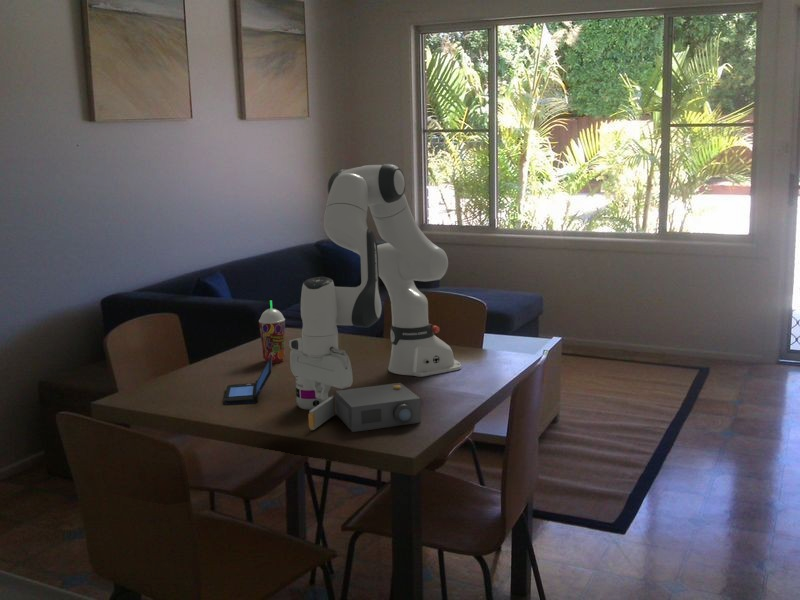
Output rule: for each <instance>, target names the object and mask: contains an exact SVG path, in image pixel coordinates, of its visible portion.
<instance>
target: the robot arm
mask: <svg viewBox="0 0 800 600" xmlns="http://www.w3.org/2000/svg"><path fill="white" fill-rule="evenodd" d="M405 191H406V179H405V175H404V173H403V170H401V169H400V168H399V167H398V166H397V165H396V164H392V163H383V164H368V165H362V166H357V167H351V168H348V169H340V170H338V171H335V172H334V173H332V174H331V175H330V178H329V179H328V181H327V193H328V196H327V200H326V204H325V208H324V209H325V210H324V216H323V229H324V230H323V231H324V232H325V234H326V235H327V237H328V238H329V239H330V240H331V241H332V242H333V243H334V244H336V245H337V246H339V247H341V248H344V249H346V250H349V251H352V252H353V253H355V254H357V255H359V258H360V278H361V281H360V282H361V283H360V285H357V286H352V287H351V286H336V285H335V283H334V280H333V279H332V278H330V277H326V276H316V277H311V278H308V279H306V280H305V281H304V282H302V286H301V291H300V292H301V295H300V316H301V317H300V319H301V320H302V328H301V336H300V337H297V338H294V339H290V340H289V341H288V342H289V343H288V345H289V346H288V347H289V348H290V349H291V350H290V353H289V362H290V363H289V365H290V366H289V367H290V371H291V373H292V376H298V377H302V378H305V379H308V380H312V386H313V388H314V390H315V397H316V398H317V399H321V400H327V399H328V398H329V392H330V390H331V388H332V387H334V388H337V389H340V390H344V389H346V388H347V389H348V388H350V387H351V386H352V385H353V381H354V380H353V379H354V377H353V370H352V365H351V364H352V363H351V359H350V356H349V355H348V354H347V352H346V350H344V349H341V348H340V349H339V332H338V331H339V330H338V327H337V326H354V327H358V328H359V327H360V328H365V329H366V328H367V329H368V328H370V327H372V326H374V324H375V323H377V322H378V321H379V320H380V318H381V315H382V301H381V293H380V292H381V291H380V279H381V281H382V282H383V284H384V287H385V288H386V290H387V293H388V295H389V299H390V309H391V325H390V342H391V352H390V359H389V364H388V368H387V370H388V372H389V373H392V374H396V375H403V376H415V377H428V376H433V375H438V374H443V373H448V372H453V371H458V370H459V371H460V370H461V369H462V364H461V362H460V361H459V360H456V359H455V358H454V352H453V350H452V348H451V346H450V345H449V344H447V343H446V342H445V341H444V340H442V339H440V338H439V337H437V336H436V335H435V334H439V332H440V331H441V330H440V327H439V326H437V325H433V324H432V323H429V301H428V298H427V297H426V295H425V294H424V293H423V292H421V291H420V290H419V289H418V287H417V286H416V284H415V281H416V282H417V281H418V282H432V281H439V280H441V279H442V278H444V276H445V275H446V273H447V271H448V267H449V259H448V255H447V253H446V252H445V250H444V249H443V248H441V247H439V246H438V245H436V244H435V243H433V242H432V241H431V240H430V239H429V238H428V237H427V236H426V235H425V233H423V231H422V229H421V228H420V227H419V226H418V224H417V223H416V221H415V218H414V216H413V214H412V211H411V207H410V205H409V203H408V200H407V197H406V194H405ZM368 207H369V208H368ZM368 210H370V213H371V217H372V219H373V221H374V224H375V227H376V230H377V232H378V235H379V236H380V238H381V239H382V240H383V241H385V242H386V243H385V242H384V243H381V244H377V238H376V235H375V233H374V231H373V230H371V229H370V228H369V227H368V223H367V219H368V217H367V216H368ZM322 387H323V389H322Z"/></svg>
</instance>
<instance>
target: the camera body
mask: <svg viewBox="0 0 800 600" xmlns="http://www.w3.org/2000/svg"><path fill="white" fill-rule="evenodd" d="M334 392H335V393H334V394H335V395H334V396H335V413H336V414H335V415H336V416H337V417H338V418H339V419H340V420H341V422H342V423H344V425H345V426H346V427H347V428H348V429H349V430H350V431H351V432H352V433H355V432H362V431H368V430H369V431H370V430H376V429H384V428H391V427H398V426H407V425H411V424H412V425H413V424H420V423H421V422H422V417H421V416H422V415H421V414H422V413H421V397H419V395H417V394H415V393H414V392H413V391H411V389H409V388H408V387H407V386H405V385H404V384H402V383H401V382H398V383H396V382H395V383H388V384H381V385H380V384H379V385H374V386H363V387H357V388H356V387H355V388H347V389H346V388H345V389H340V390H339V389H338V390H335V391H334Z"/></svg>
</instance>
